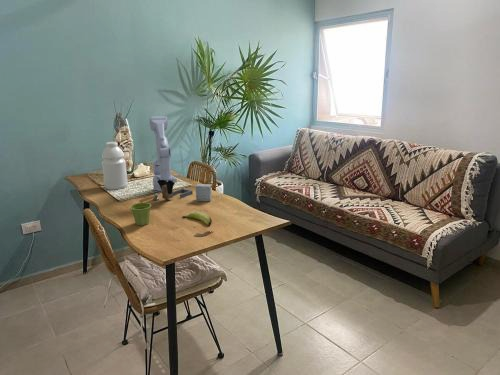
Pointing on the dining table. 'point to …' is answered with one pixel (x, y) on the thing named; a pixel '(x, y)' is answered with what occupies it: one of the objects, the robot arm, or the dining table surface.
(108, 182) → the bottle
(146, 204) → the plant pot
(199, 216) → the green banana
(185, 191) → the cradle
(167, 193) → the plug
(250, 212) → the dining table surface
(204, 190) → the medicine box
